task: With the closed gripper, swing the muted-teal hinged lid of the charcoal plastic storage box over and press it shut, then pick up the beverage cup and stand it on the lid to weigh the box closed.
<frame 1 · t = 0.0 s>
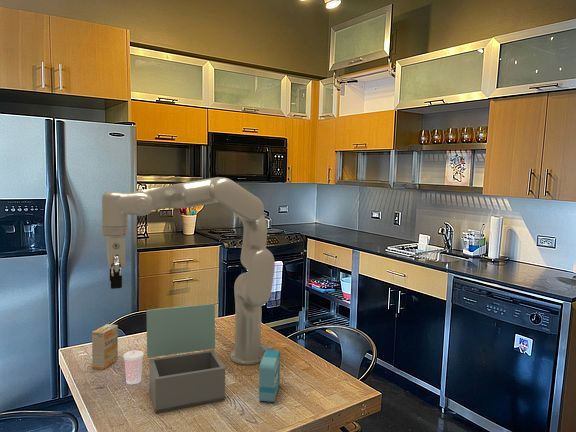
hand: (115, 284, 138), 31 cm above the table, tool pointing down, fingers open, 9 cm apart
storage box: (186, 395, 131), on the table
lid: (181, 329, 137), point 18 cm above the table, hinge at 95.0°
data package: (269, 394, 134), on the table
supplement box: (105, 364, 150), on the table
supplement bottle: (199, 341, 174), on the table
beverage cup: (133, 381, 139), on the table
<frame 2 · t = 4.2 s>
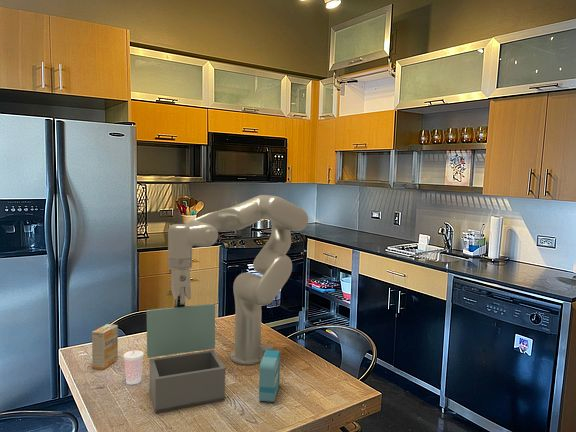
hand: (179, 318, 140), 20 cm above the table, tool pointing down, fingers closed
lid: (181, 329, 137), point 18 cm above the table, hinge at 93.4°, touching gripper
everything else where it was.
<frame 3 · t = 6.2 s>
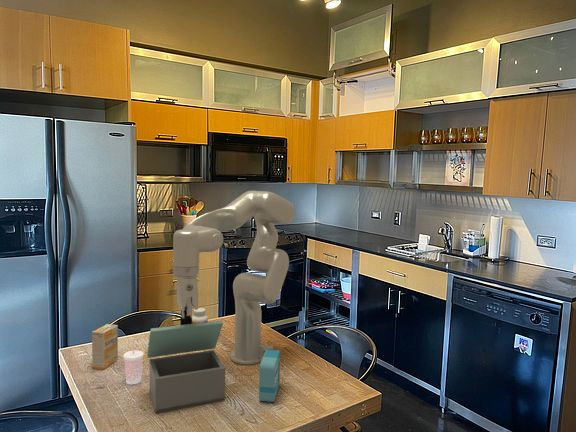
hand: (186, 329, 131), 20 cm above the table, tool pointing down, fingers closed
lid: (184, 339, 132), point 16 cm above the table, hinge at 52.2°, touching gripper
everything else where it was.
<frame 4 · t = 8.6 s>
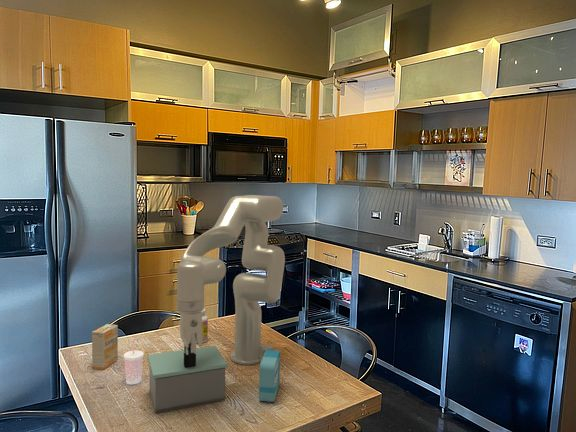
hand: (189, 366, 125), 11 cm above the table, tool pointing down, fingers closed
lid: (186, 360, 130), point 11 cm above the table, hinge at 0.1°, touching gripper
everything else where it was.
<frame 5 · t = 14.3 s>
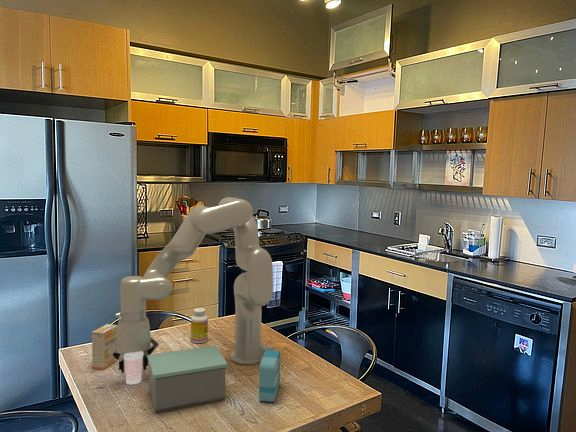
hand: (133, 369, 139), 4 cm above the table, tool pointing down, fingers closed on beverage cup, 6 cm apart
lid: (186, 360, 130), point 11 cm above the table, hinge at 0.1°
beverage cup: (133, 381, 139), on the table, touching gripper
everything else where it was.
when the fingers open (17 cm above the table, at t = 20.9 s): beverage cup drops 2 cm, resting on lid.
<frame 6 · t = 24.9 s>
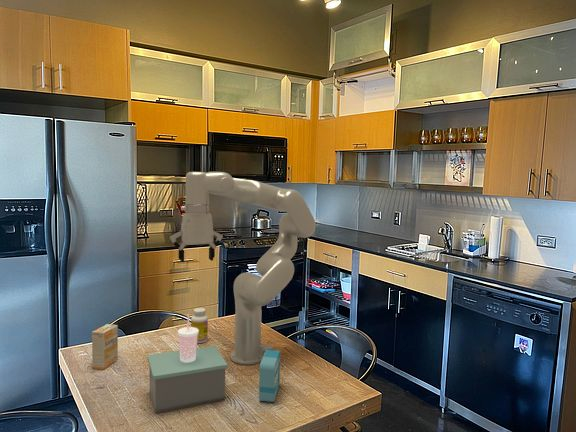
hand: (196, 260, 144), 38 cm above the table, tool pointing down, fingers open, 9 cm apart
lid: (186, 361, 130), point 11 cm above the table, hinge at -0.9°, touching beverage cup
beverage cup: (187, 359, 130), point 11 cm above the table, touching lid
everything else where it was.
at the end: lid at -1° (first picture: +95°); beverage cup inside the target area on the storage box (0.4 cm from its centre), point 11.1 cm above the storage box's base; beverage cup tilted 1° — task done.
